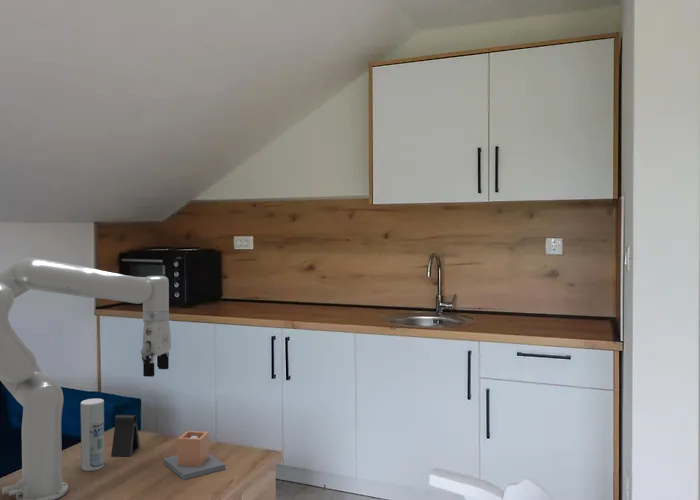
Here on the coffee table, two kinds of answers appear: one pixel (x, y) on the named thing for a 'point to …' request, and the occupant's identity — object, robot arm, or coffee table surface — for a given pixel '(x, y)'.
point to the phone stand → (125, 436)
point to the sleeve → (193, 448)
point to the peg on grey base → (194, 471)
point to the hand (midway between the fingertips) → (156, 372)
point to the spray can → (92, 434)
